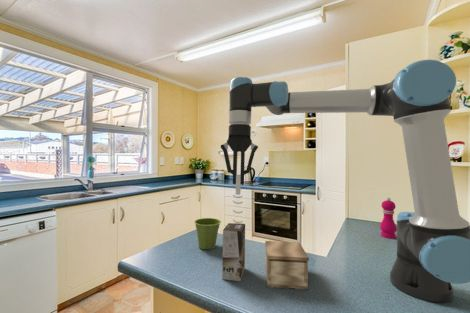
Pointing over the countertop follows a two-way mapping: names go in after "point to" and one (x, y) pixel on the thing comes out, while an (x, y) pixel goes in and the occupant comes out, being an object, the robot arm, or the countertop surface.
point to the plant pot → (207, 232)
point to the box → (287, 273)
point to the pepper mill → (388, 220)
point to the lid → (285, 251)
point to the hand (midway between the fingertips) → (238, 193)
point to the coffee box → (233, 251)
